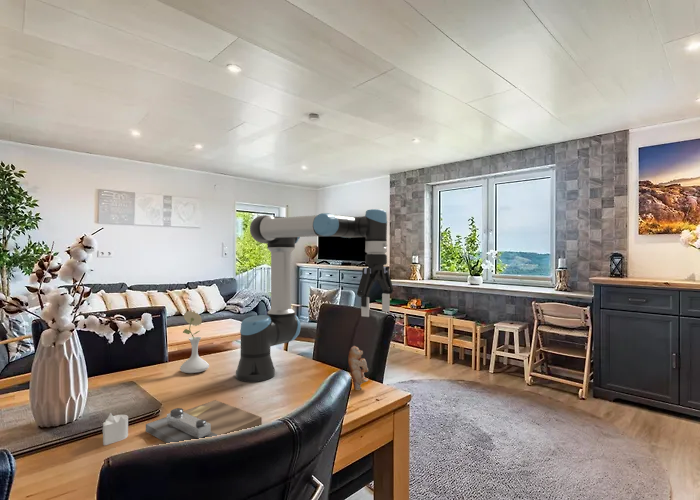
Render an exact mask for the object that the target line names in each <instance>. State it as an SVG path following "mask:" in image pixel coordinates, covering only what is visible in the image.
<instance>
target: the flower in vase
mask: <svg viewBox="0 0 700 500" xmlns="http://www.w3.org/2000/svg"><path fill="white" fill-rule="evenodd" d="M183 314H184V315H183V319H185V320H184V321H185V322H187V324H189V327H188V329H187V328H184V329H183V331H182V334H183V333H184V334H187V335H190V336H191V337H188V338H187V339H188V340H189V342H190V344H191V345H190V346H191V355H190V356H189V358H188V359H187V360H185V361H184V362H183V363H182V364H181V366H179V371H181V372H182V373H186V374H194V373H195V374H197V373H201V372H204V371H206V370H208V369H209V367H210V364H209V363H208V362H207V361H206V360H205V359H204V358H202V357H200V355H199V352H198V351H199V350H198V349H199V342H200V341H201V340H202V337H200V336H194V335H196V334H199V332H200V330H198V331H195V333H192V331H191V325H192V326H195V327H197V326H200V325H202V321H203V318H202V317H201V314H199V313H198V312H196V311H194V310H193V311H192V310H187V311H185V312H184V313H183Z"/></svg>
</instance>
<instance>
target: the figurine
mask: <svg viewBox="0 0 700 500" xmlns="http://www.w3.org/2000/svg"><path fill="white" fill-rule="evenodd" d="M362 355H364V351H363V350H361V349H360V348H359V347H358V346H356V345H352V346H351V348H350V349H349V351H348V357H347V363H348V367H349V373H350V376H352V377H351V380H352V379H353V380H352V383H353V389H354V390H355V391H360V390H362V387H361V385H362V384H364V383H367V382H369V377H368V378H367V377H365V373H368V372H369V368H368V364H367V361H366V359H365V358H362Z"/></svg>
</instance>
